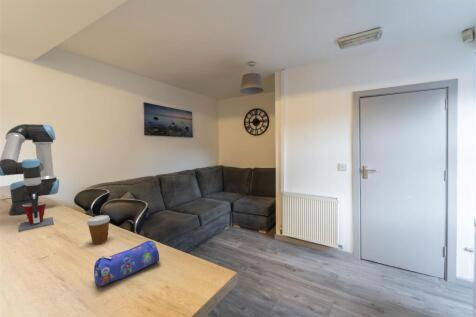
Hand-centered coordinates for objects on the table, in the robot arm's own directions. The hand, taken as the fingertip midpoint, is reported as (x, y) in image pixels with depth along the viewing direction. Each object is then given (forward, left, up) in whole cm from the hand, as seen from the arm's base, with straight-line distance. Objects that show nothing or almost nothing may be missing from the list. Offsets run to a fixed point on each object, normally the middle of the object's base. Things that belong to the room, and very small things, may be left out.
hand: (36, 220), depth 128 cm
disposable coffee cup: (+56, +23, -3) cm, 61 cm away
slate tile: (0, 0, -2) cm, 2 cm away
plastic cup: (0, 0, -1) cm, 1 cm away
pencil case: (+94, +25, -3) cm, 97 cm away
